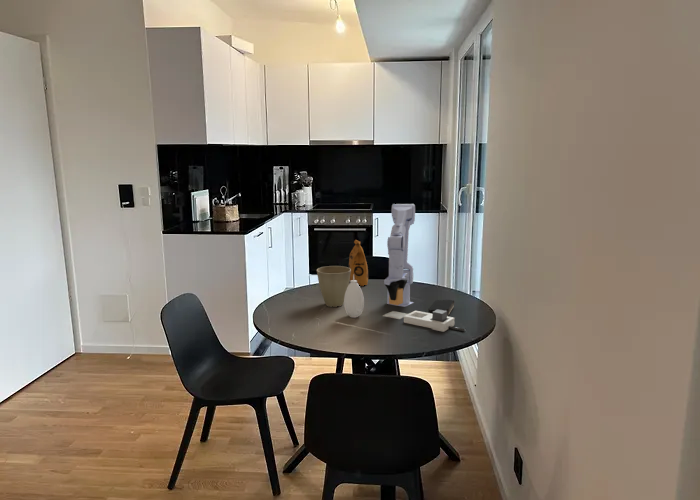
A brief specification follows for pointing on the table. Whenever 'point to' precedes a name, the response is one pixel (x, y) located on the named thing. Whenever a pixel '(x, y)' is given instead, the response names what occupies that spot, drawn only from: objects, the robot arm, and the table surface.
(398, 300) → the orange plug
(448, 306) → the black sponge
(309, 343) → the table surface
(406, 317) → the white slotted board
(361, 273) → the coffee package
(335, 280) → the plant pot
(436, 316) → the dark grey block
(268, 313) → the table surface
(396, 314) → the grey mat
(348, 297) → the sauce bottle
